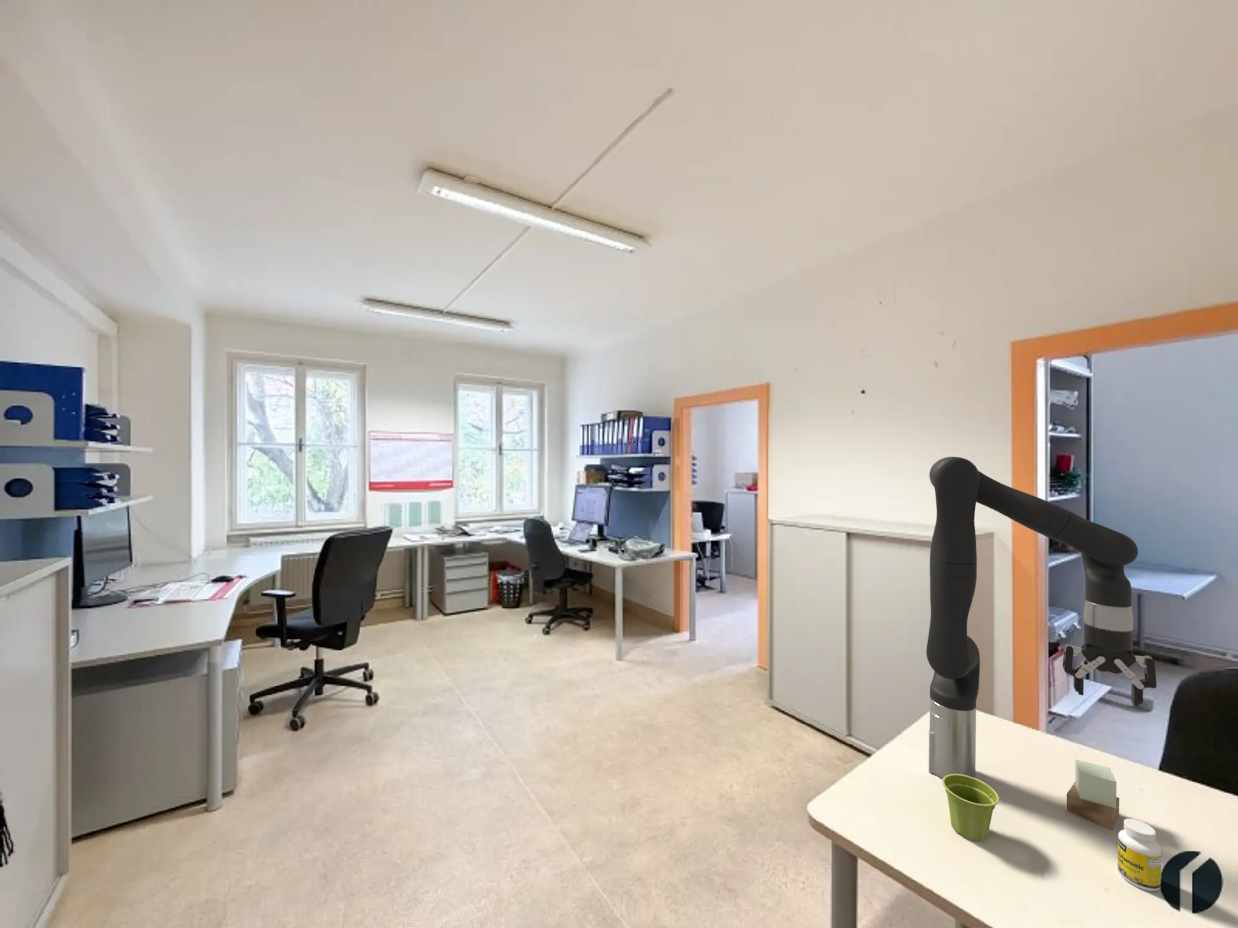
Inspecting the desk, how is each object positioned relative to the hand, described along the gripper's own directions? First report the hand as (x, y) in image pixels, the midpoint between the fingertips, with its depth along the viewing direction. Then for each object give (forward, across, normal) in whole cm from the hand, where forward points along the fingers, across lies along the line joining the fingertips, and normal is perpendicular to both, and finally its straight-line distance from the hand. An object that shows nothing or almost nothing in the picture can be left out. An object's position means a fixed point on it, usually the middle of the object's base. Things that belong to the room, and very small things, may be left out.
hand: (1107, 698), depth 109 cm
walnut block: (+24, -3, -4) cm, 24 cm away
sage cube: (+20, -2, -4) cm, 20 cm away
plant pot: (+24, -24, -24) cm, 42 cm away
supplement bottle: (+24, +1, -22) cm, 32 cm away
